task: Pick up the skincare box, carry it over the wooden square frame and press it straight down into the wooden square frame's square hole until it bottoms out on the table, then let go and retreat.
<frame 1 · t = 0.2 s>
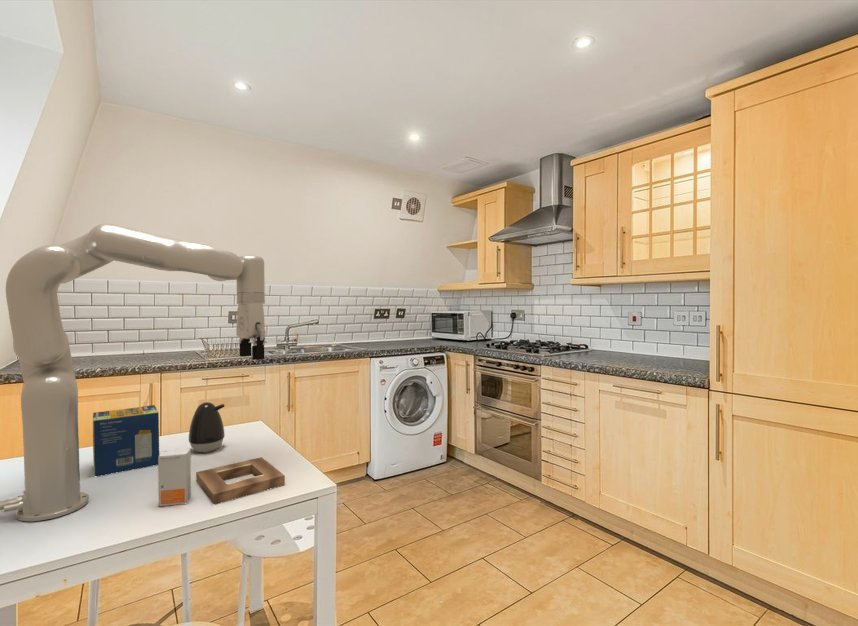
hand: (251, 357, 128), 31 cm above the table, tool pointing down, fingers open, 9 cm apart
protein box: (127, 465, 127), on the table
pump dispenser: (207, 450, 140), on the table
skincare box: (175, 502, 104), on the table
wooden square frame: (240, 483, 115), on the table
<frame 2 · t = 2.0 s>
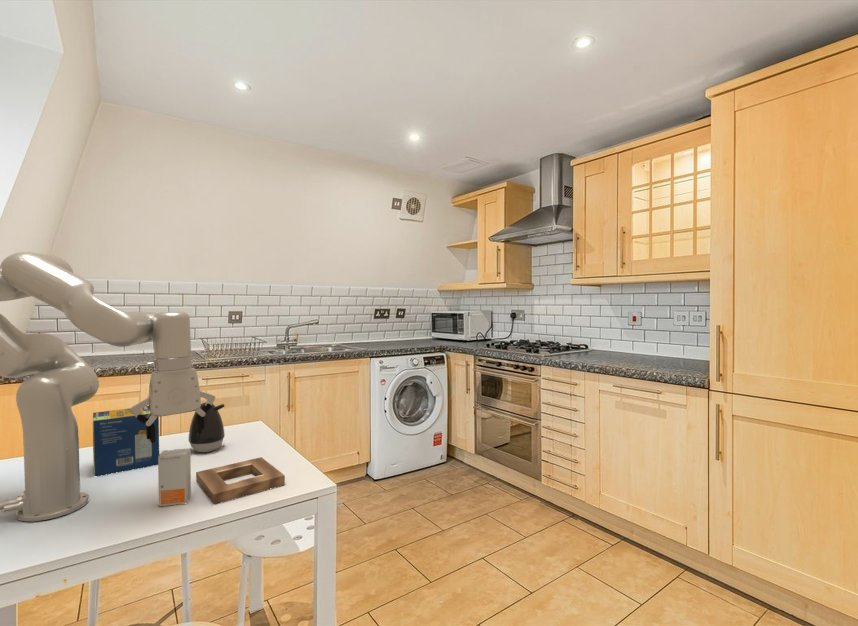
hand: (176, 436, 104), 15 cm above the table, tool pointing down, fingers open, 9 cm apart
nothing on the table moved.
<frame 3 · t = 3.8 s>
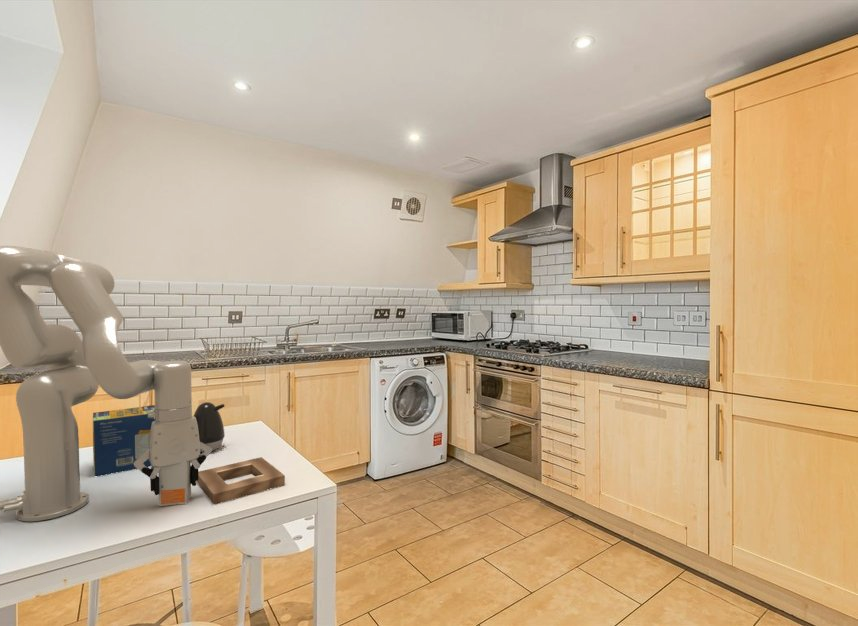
hand: (175, 488, 104), 3 cm above the table, tool pointing down, fingers closed on skincare box, 7 cm apart
skincare box: (175, 502, 104), on the table, touching gripper
everything else where it was.
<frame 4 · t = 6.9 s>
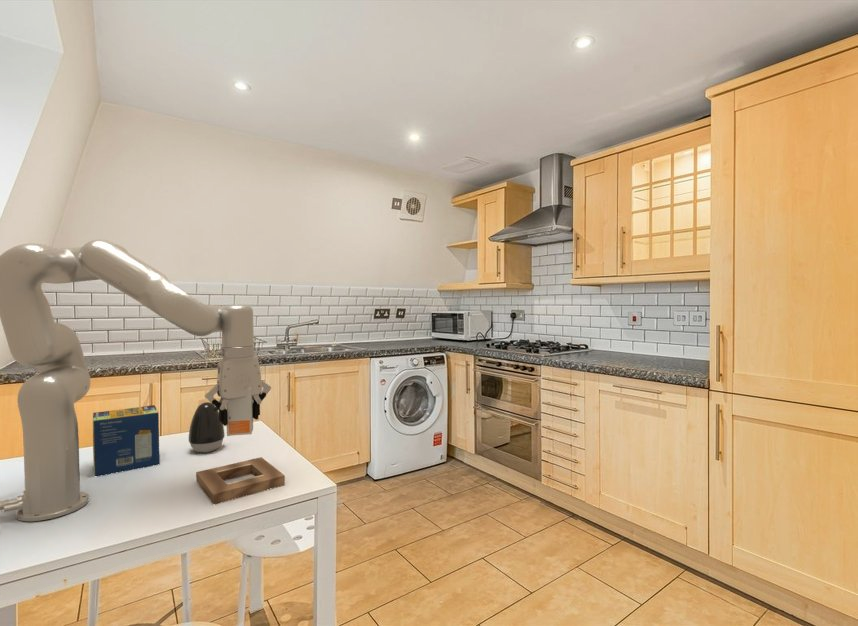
hand: (240, 420, 114), 16 cm above the table, tool pointing down, fingers closed on skincare box, 7 cm apart
skincare box: (240, 434, 114), point 13 cm above the table, touching gripper
everything else where it was.
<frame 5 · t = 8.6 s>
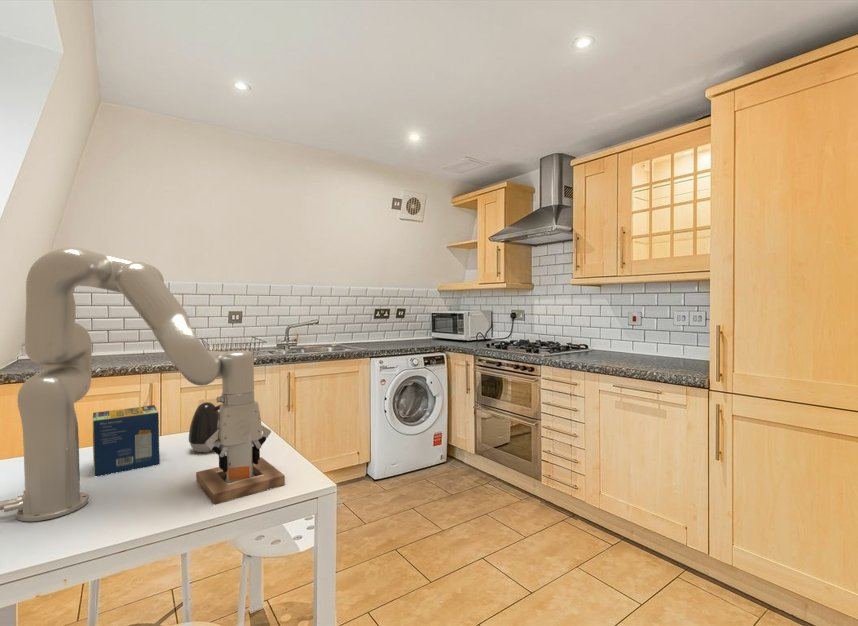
hand: (239, 466, 115), 5 cm above the table, tool pointing down, fingers closed on skincare box, 7 cm apart
skincare box: (240, 479, 115), point 1 cm above the table, touching gripper
everything else where it was.
when the fingers open (4 cm above the table, at t = 9.9 s): skincare box stays where it is, resting in wooden square frame.
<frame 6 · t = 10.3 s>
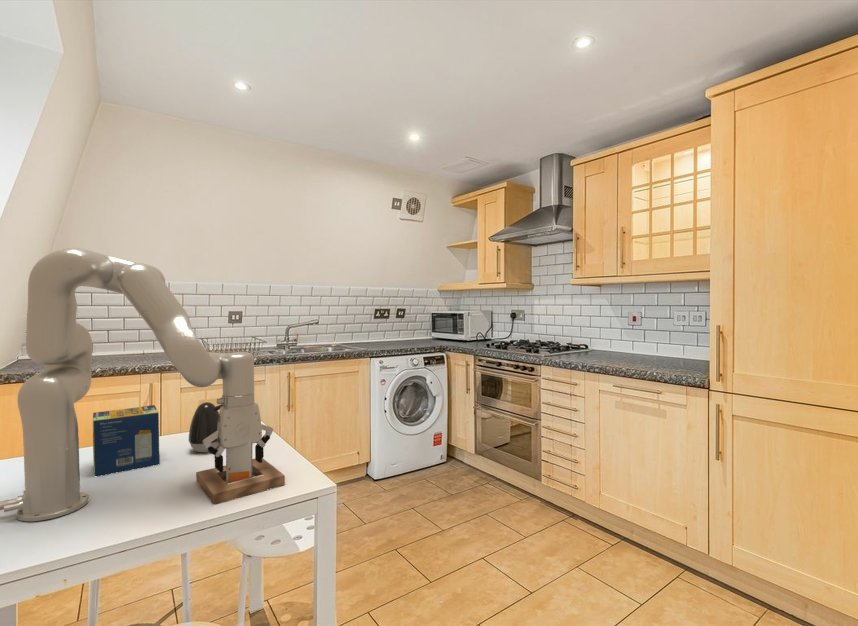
hand: (239, 465, 114), 5 cm above the table, tool pointing down, fingers open, 9 cm apart
skincare box: (239, 484, 115), resting in wooden square frame
everything else where it was.
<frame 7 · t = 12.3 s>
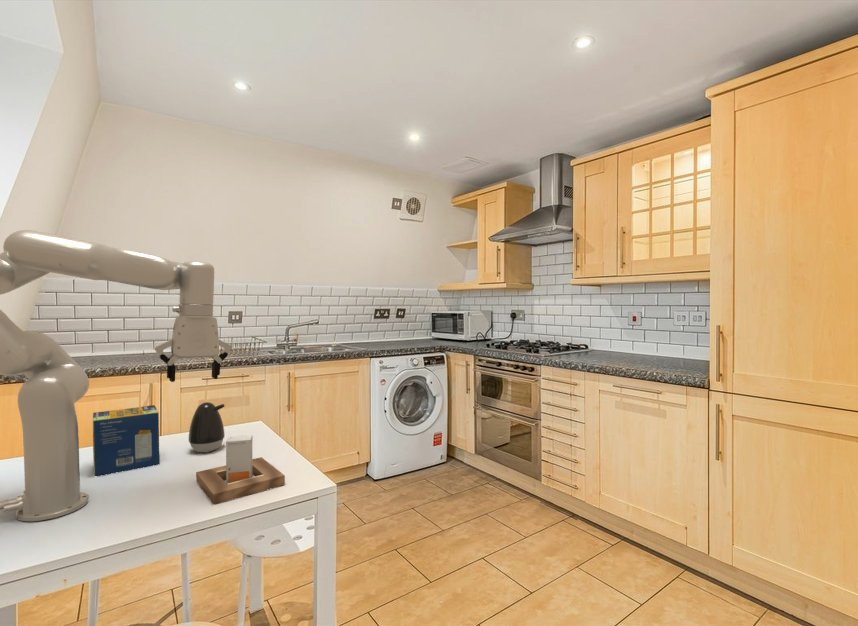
hand: (193, 379, 111), 28 cm above the table, tool pointing down, fingers open, 9 cm apart
nothing on the table moved.
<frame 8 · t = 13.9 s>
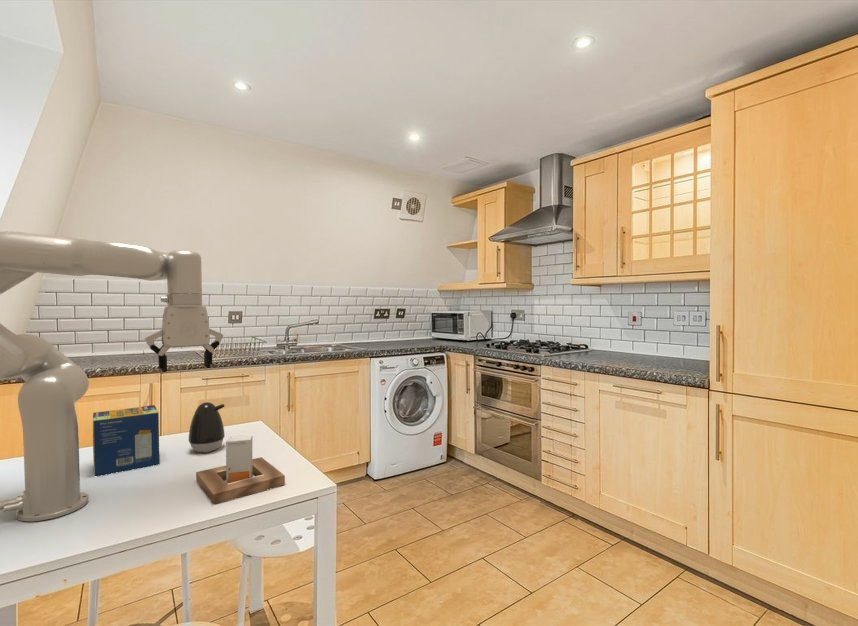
hand: (186, 369, 110), 30 cm above the table, tool pointing down, fingers open, 9 cm apart
nothing on the table moved.
at the end: skincare box inside the target area on the wooden square frame (0.0 cm from its centre), point 0.0 cm above the wooden square frame's base; skincare box tilted 0°; the gripper is holding nothing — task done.
